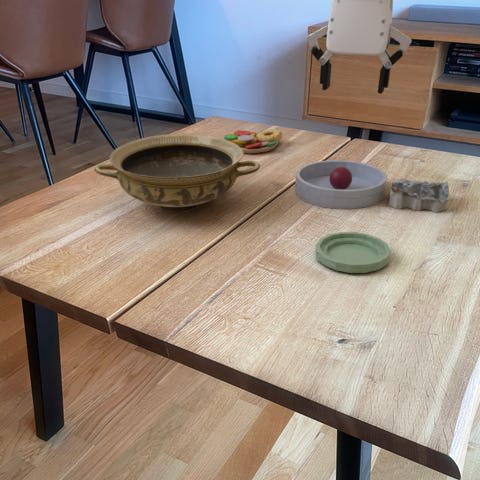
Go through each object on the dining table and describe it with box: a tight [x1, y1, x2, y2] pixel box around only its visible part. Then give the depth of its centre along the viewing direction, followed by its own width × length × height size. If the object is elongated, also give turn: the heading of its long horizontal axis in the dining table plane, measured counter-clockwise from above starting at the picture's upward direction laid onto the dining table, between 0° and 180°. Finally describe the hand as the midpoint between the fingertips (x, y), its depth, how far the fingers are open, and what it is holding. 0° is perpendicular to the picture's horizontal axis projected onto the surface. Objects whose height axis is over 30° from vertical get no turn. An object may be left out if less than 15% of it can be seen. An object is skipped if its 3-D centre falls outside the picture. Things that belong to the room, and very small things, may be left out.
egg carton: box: [388, 178, 450, 213], centre depth 103 cm, size 11×8×4 cm
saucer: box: [315, 231, 392, 274], centre depth 86 cm, size 11×11×2 cm
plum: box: [329, 167, 352, 190], centre depth 108 cm, size 4×4×4 cm
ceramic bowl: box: [94, 133, 261, 213], centre depth 103 cm, size 30×24×10 cm
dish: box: [294, 159, 388, 210], centre depth 109 cm, size 17×18×4 cm
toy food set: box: [223, 128, 283, 154], centre depth 134 cm, size 13×13×3 cm
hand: (353, 90), depth 97 cm, fingers open, 9 cm apart
